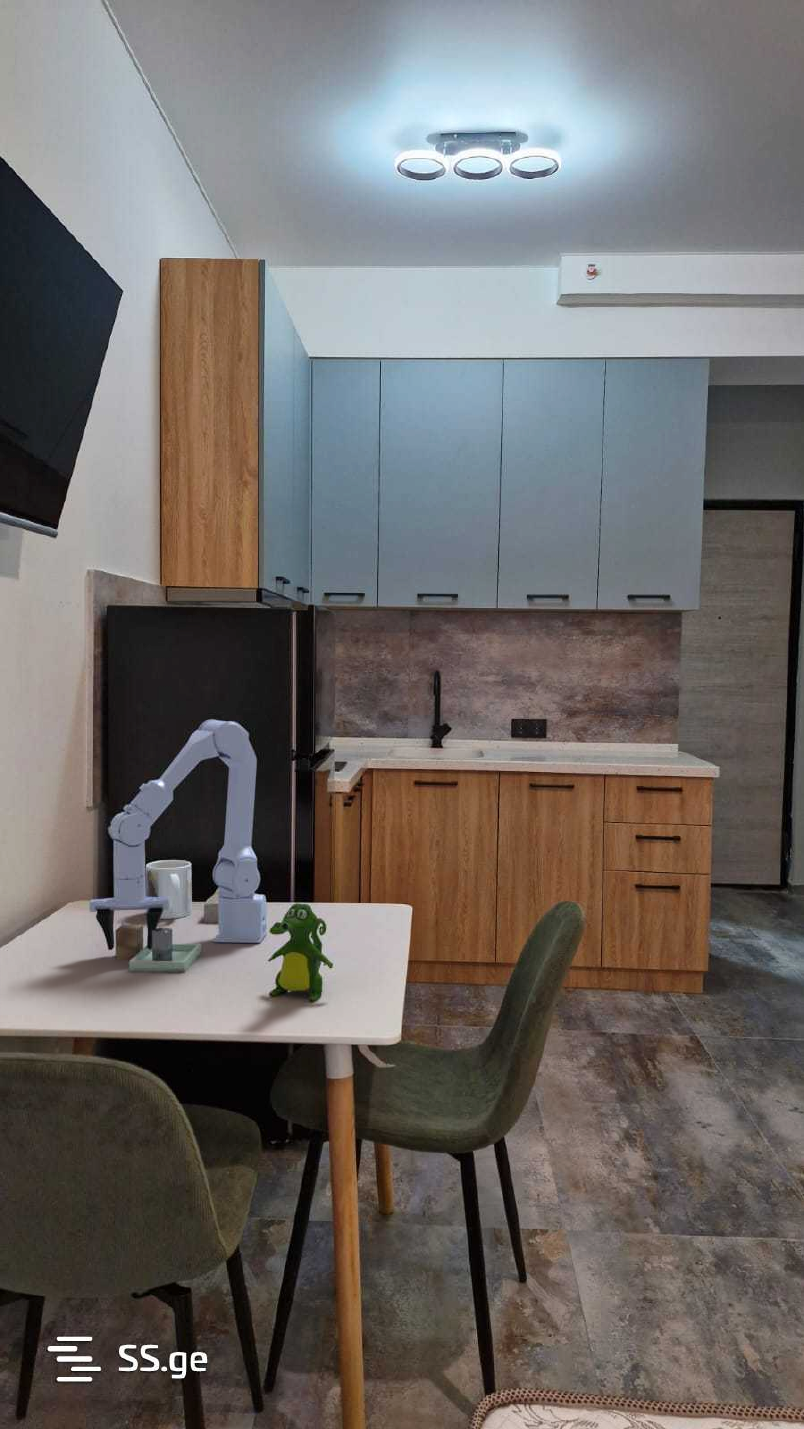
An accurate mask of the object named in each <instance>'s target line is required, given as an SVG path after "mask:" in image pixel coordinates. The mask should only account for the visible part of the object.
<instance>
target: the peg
mask: <svg viewBox="0 0 804 1429" xmlns="http://www.w3.org/2000/svg"><path fill="white" fill-rule="evenodd" d="M172 943H173V929H172V928H171V927H158V928H156V929H153V930H152V961H172Z"/></svg>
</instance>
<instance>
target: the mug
mask: <svg viewBox="0 0 804 1429" xmlns="http://www.w3.org/2000/svg"><path fill="white" fill-rule="evenodd" d="M192 885H193V884H192V863H191V861H187V860H181V859H179V860H178V859H169V860H167V859H166V860H164V859H163V860H156V861H152V862H148V863H147V864H145V893H146V897H157V898H170V908H169V910H163V912H162V914H161V917H160V919H159V920H161V919H162V920H169V919H170V920H171V919H179V918H183V917H184V918H185V917H187V916H190V915H191V914H192V912H193V903H192V902H193V899H192V896H193V895H192V894H193V892H192V891H193V890H192V888H193V887H192ZM145 911H146V912H145V913H146V914H147V912H148V911H149V910H145Z"/></svg>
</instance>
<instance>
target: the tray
mask: <svg viewBox="0 0 804 1429" xmlns="http://www.w3.org/2000/svg"><path fill="white" fill-rule="evenodd" d="M200 955H202V944H201V943H173V942H172V961H152V948H151V949H148V948H147V945H146V946H144V947H143V949H142V950H141V951H140V952H139V953H138V954H137V955H136V956H135V957H134V958H133V959H129V962H128V964H129V966H128V967H129V972H138V973H139V972H143V973H144V972H149V973H153V972H154V973H157V972H158V973H186V971H187V970H188V969H189V968H190V966H192V964H193V963H194V962H195V961H196V960H197V959H198V958H199V957H200Z"/></svg>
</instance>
